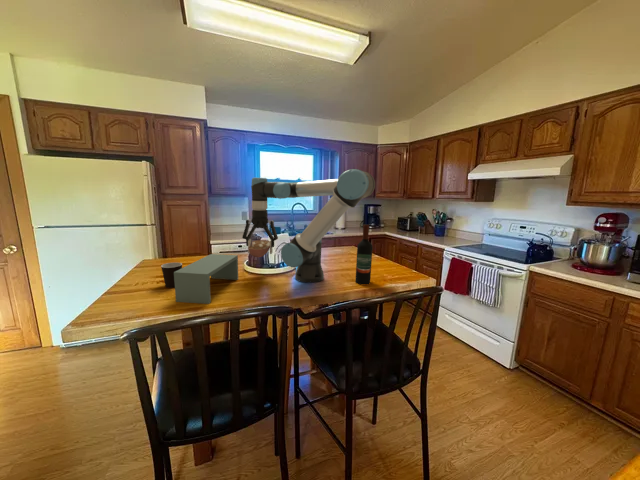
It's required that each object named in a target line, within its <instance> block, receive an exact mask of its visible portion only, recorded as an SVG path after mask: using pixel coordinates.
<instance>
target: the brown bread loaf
mask: <svg viewBox="0 0 640 480" xmlns="http://www.w3.org/2000/svg"><path fill="white" fill-rule="evenodd" d="M270 241H271V240H266V239H257V240H253V241H252V240H251V246H250V247H248V246H247V250H248V249H249V252H250V253H249V254H250V255H251V256H252V257H254V258H263V257H264V256H265V255H266V254H267V253H268V252H270Z"/></svg>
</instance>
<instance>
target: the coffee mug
mask: <svg viewBox="0 0 640 480" xmlns="http://www.w3.org/2000/svg"><path fill="white" fill-rule="evenodd" d="M160 266H161V272H162V276H163V280H164V284H165V287H166V288H168V289H169V288H170V289H175V282H174V272H175V271H177V270H179V269H181V268H183V263H182V262H167V263H163V264H162V265H160Z"/></svg>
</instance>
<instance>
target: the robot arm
mask: <svg viewBox="0 0 640 480" xmlns="http://www.w3.org/2000/svg"><path fill="white" fill-rule="evenodd" d="M250 187H251V209H252V210H251V219H246V220H245V227H244V231H243V233H242V237H241V239H244V240H245V245H246V247H247V252H248V254H250V252H249V249H248V247H250V246H251V245H252V239H251V238H252V236H253V234H254V232H255V231H256V229H263V230H264V231H265V232H266V234H267V236H268V238H269V239H270V240H269V241H270V248H269V255H272V254H273V248H274V247H275V241H276V240H278V239H279V236H278V233H277V230H276V227H275V220H274V219H273V220H269V217H268V210H267V209H268V199H279V200H281V199H282V200H283V199H287V198H289V199H292V198H293V199H295V198H307V197H308V198H309V197H311V198H312V197H328V196H330V199H329V200H328V201H327V202H326V203H325V204H324V206H323V207H322V208H321V209H320V211H319V212H318V213H317V214H316V215H315V216H314V217H313V219H312V220H311V221H310V222H309V224H308V225H307V227H305V229H304V230H303V231H302V233H301V232H300V233H297V234H296V235H295V236H294V237H293V238H292V239H291V241H290V242H287V243H285V244H284V245H283V246H282V247H281V251H280V255H281V259H282V261H283V263H284V264H285V265H286V266H287V267H290V268H296V271H295V275H294V276H295V277H294V278H295V280H296V281H298V282H301V283H310V284H311V283H318V282H321V281H323V280H324V277H325V274H324V270H323V268H322V264H321V263H322V244H323V243H322V239H323V238H324V237H325V236H326V234H328V232H329V231H330V230H331V229H332V228H333V227H334V225H336V223H337V222H338V221H339V220H340V218H341V217H343V215H344V214H345V213H346V212H347V211H348V210H349V209H354V208H355V207H356V206H357V205H358V204H359V203H360V201H362V199H365V198H367V197H370V196H371V195H372V193H373V192H374V190H375V187H376V181H375V179H374V176H373V175H372V174H371V173H369V172H367V171H365V170H361V169H358V168H357V169H356V168H352V169H348V170H347V169H346V171H343V173H341V174H340V175H339V176H338V178H332V179H323V180H322V179H321V180H310V181H309V180H308V181H299V182H285V181H284V182H283V181H268V179H267V178H266V177H252V178H251V186H250ZM251 224H252V227H251V229H250V226H251ZM268 224H269V225H270V228H269V227H268ZM249 229H250V231H249ZM270 229H271V231H270ZM248 232H249V233H248Z"/></svg>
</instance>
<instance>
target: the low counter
mask: <svg viewBox="0 0 640 480" xmlns="http://www.w3.org/2000/svg"><path fill="white" fill-rule="evenodd" d="M238 255H239V254H238ZM238 255H236V254H217V253H210V254H208V255H206V256H204V257H202V258H200V259H198V260H196V261H194V262H192V263H190V264H188V265H185V266H184V267H183V266H182V268H181V269H179V270H177V271H175V272H174V282H175V287H174V293H175V302H176V303H177V302H178V303H190V304H205V305H207V304H208V305H210V304H211V302H212V300H211V299H212V297H211V281H210V280H211V279H217V280H220V279H221V280H235V281H237V280H239V257H238ZM210 278H211V279H210Z"/></svg>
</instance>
